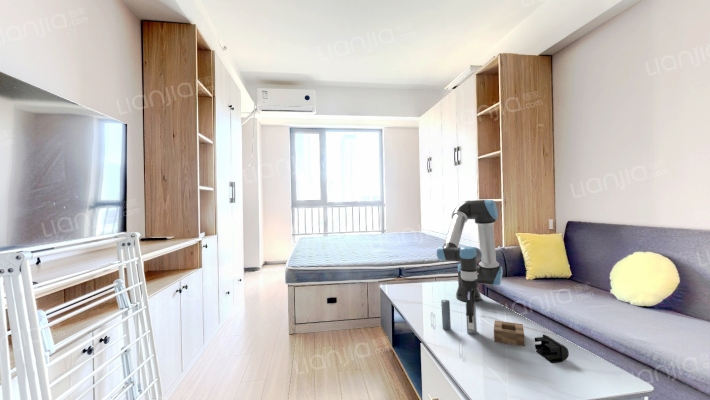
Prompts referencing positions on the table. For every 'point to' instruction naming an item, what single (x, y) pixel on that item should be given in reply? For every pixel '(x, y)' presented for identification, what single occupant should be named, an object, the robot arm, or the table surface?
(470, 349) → the table surface
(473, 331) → the square peg
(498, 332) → the socket block
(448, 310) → the round peg
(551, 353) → the end cap
